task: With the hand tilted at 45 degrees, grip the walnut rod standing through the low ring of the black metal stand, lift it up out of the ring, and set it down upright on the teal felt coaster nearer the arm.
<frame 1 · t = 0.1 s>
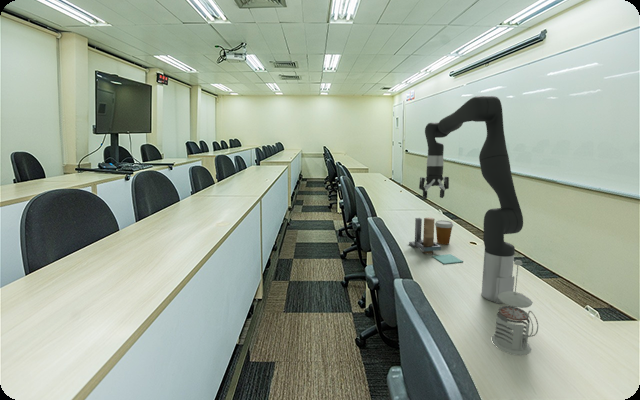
hand: (433, 198, 151), 29 cm above the table, tool pointing down, fingers open, 8 cm apart
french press: (513, 346, 86), on the table
felt coaster: (447, 259, 149), on the table
disposable coffee cup: (443, 243, 174), on the table
ring stand: (427, 252, 159), on the table
walnut rod: (427, 252, 159), on the table
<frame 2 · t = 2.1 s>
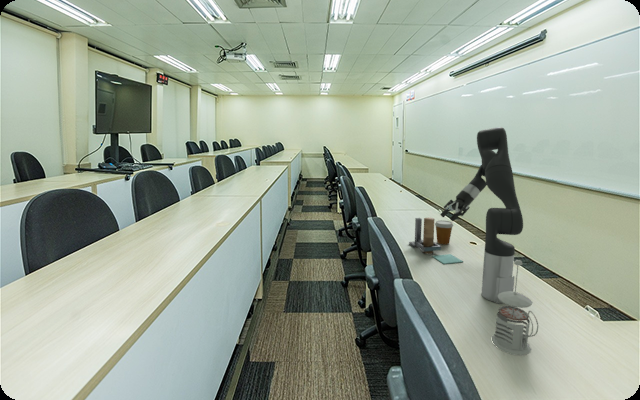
hand: (446, 218, 158), 18 cm above the table, tool tilted 45°, fingers open, 8 cm apart
nothing on the table moved.
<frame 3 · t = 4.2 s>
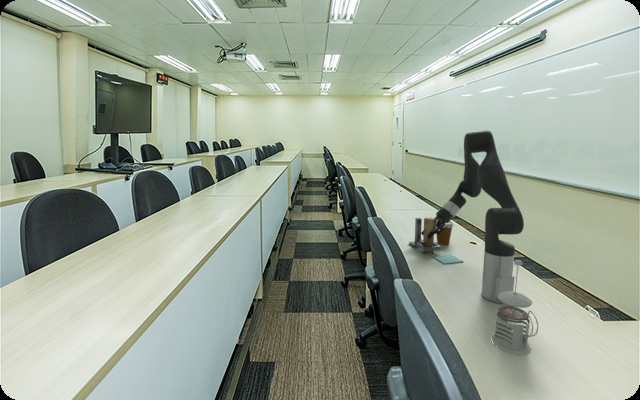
hand: (425, 236, 157), 9 cm above the table, tool tilted 45°, fingers closed on walnut rod, 5 cm apart
walnut rod: (427, 252, 159), on the table, touching gripper
everything else where it was.
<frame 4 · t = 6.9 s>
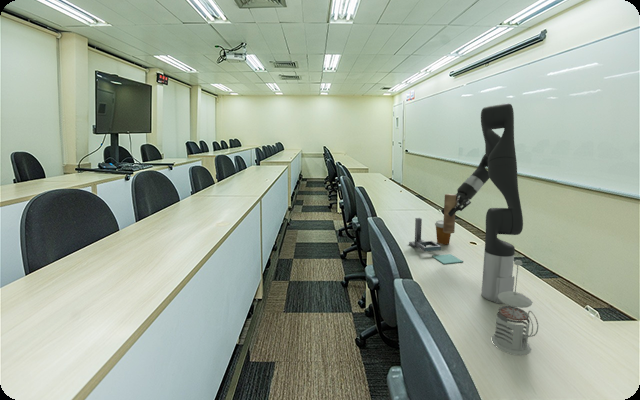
hand: (446, 213, 145), 23 cm above the table, tool tilted 45°, fingers closed on walnut rod, 5 cm apart
walnut rod: (448, 231, 147), point 14 cm above the table, touching gripper
everything else where it was.
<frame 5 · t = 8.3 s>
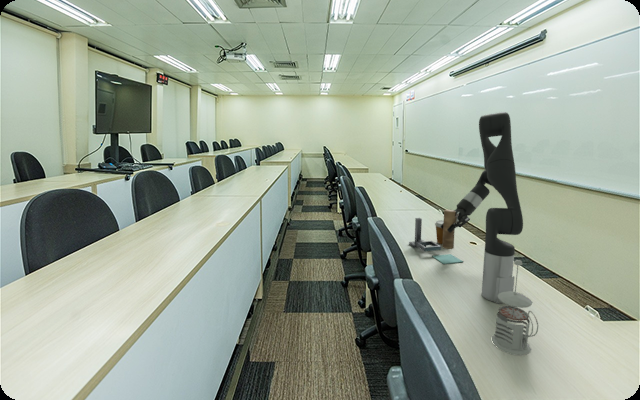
hand: (445, 229, 146), 15 cm above the table, tool tilted 45°, fingers closed on walnut rod, 5 cm apart
walnut rod: (447, 247, 148), point 6 cm above the table, touching gripper
everything else where it was.
when the fingers open (11 cm above the table, at t = 9.6 s): walnut rod drops 1 cm, resting on felt coaster.
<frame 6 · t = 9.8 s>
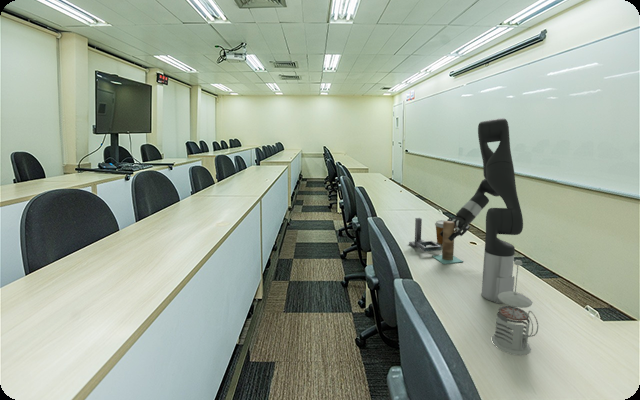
hand: (445, 237, 147), 11 cm above the table, tool tilted 45°, fingers open, 6 cm apart
walnut rod: (447, 258, 149), point 1 cm above the table, touching felt coaster
everything else where it was.
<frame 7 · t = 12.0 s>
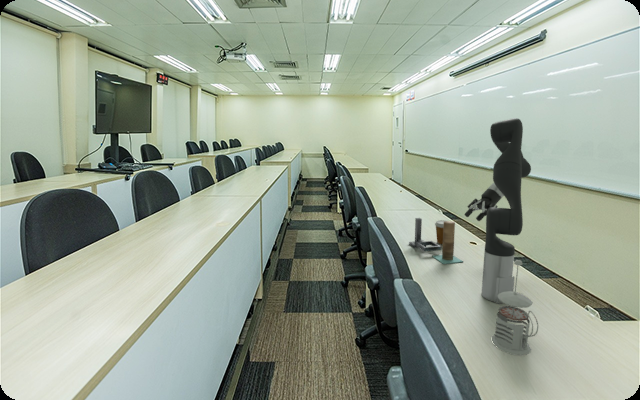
hand: (471, 217, 148), 20 cm above the table, tool tilted 45°, fingers open, 8 cm apart
nothing on the table moved.
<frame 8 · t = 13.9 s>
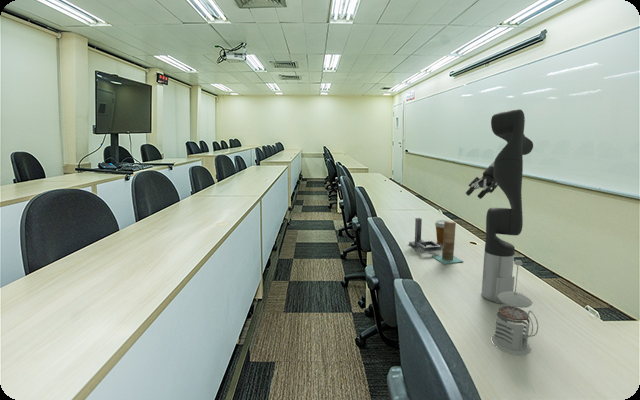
hand: (472, 196, 146), 31 cm above the table, tool tilted 45°, fingers open, 8 cm apart
nothing on the table moved.
at the end: walnut rod inside the target area on the felt coaster (0.1 cm from its centre), point 0.5 cm above the felt coaster's base; walnut rod tilted 1°; the gripper is holding nothing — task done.
